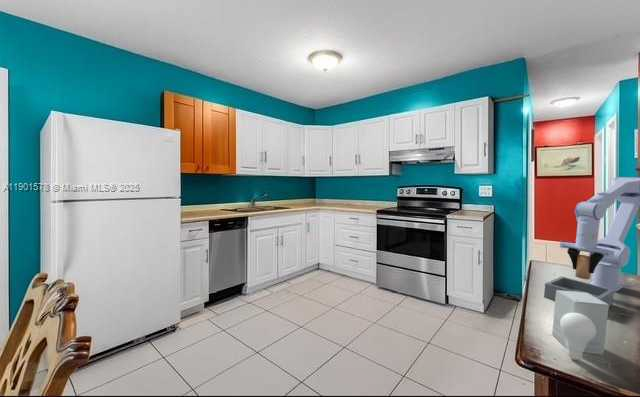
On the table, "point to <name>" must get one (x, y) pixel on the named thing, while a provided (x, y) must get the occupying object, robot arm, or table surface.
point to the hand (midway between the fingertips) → (583, 270)
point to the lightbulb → (577, 333)
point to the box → (577, 289)
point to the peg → (583, 266)
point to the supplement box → (586, 307)
